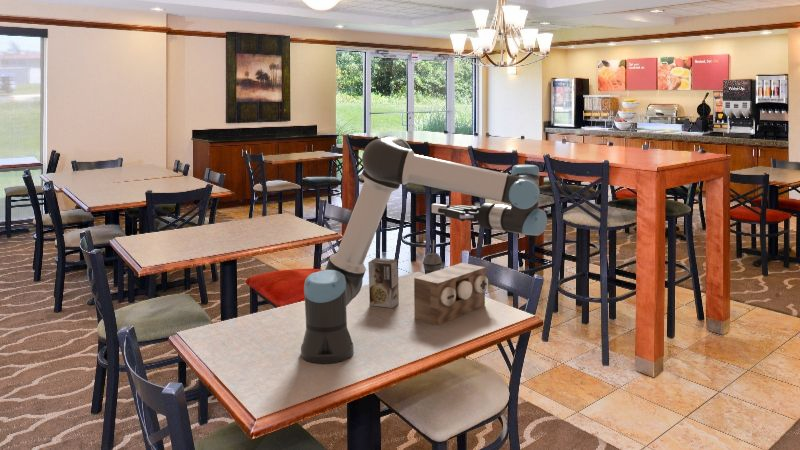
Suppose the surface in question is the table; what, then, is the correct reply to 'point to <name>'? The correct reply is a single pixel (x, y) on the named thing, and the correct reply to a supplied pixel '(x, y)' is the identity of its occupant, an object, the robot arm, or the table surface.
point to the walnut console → (448, 293)
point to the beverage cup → (432, 262)
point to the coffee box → (383, 282)
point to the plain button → (464, 289)
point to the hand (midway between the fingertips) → (433, 208)
